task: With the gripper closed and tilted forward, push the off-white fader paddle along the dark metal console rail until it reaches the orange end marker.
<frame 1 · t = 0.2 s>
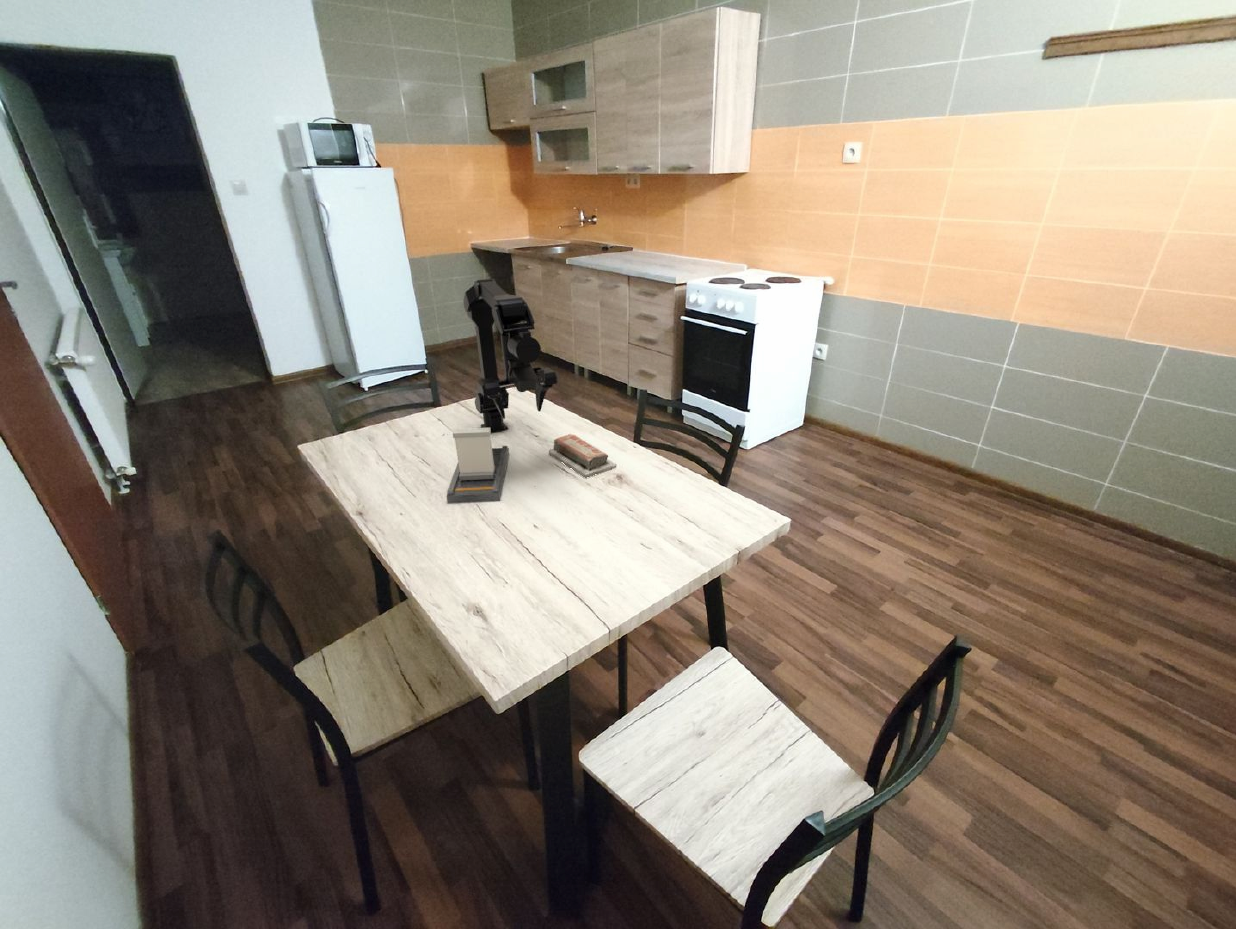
hand: (521, 414, 140), 15 cm above the table, tool pointing down, fingers open, 9 cm apart
packaged product: (581, 462, 150), on the table
fader paddle: (474, 453, 136), point 8 cm above the table, slide at 0.0 cm
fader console: (480, 476, 143), on the table
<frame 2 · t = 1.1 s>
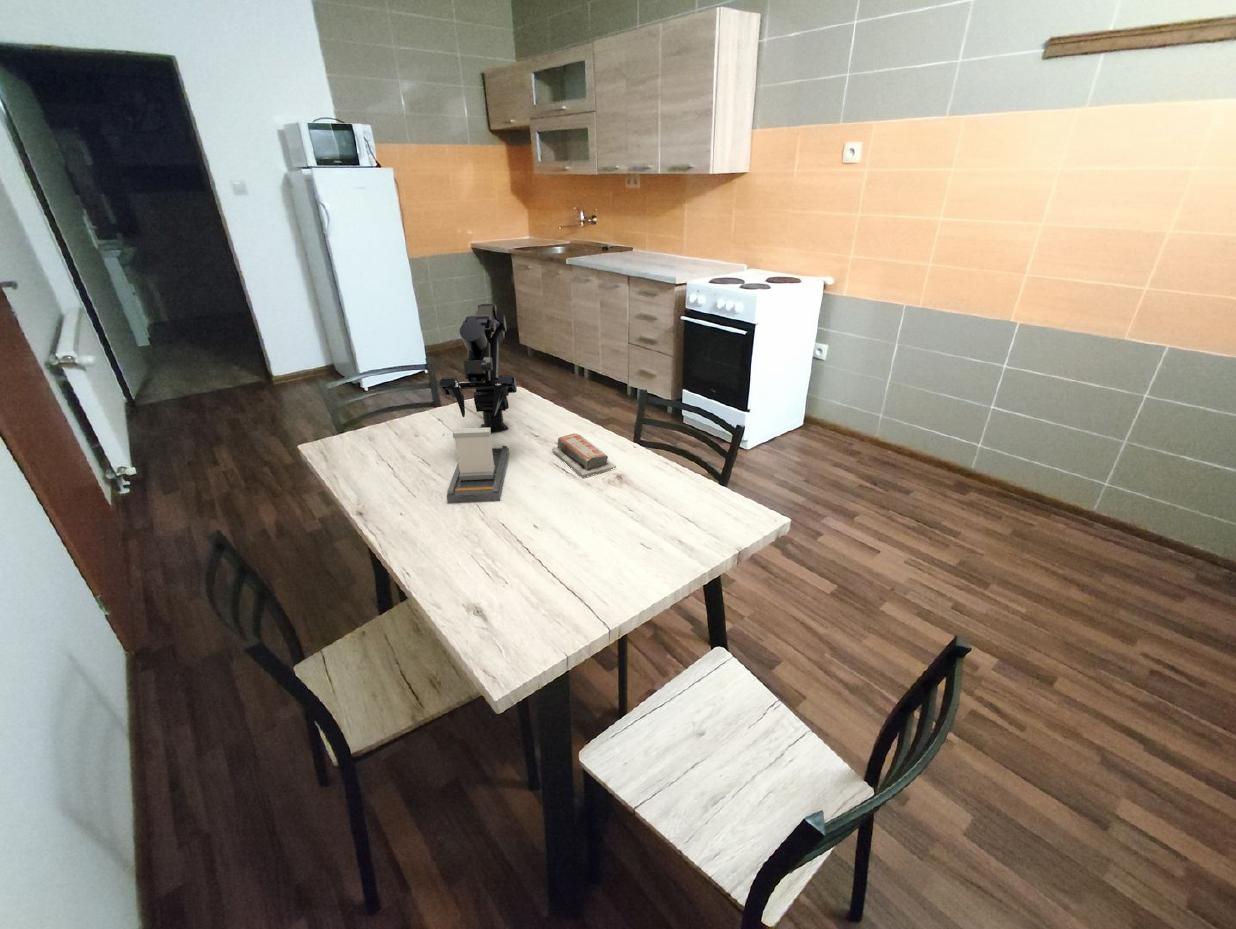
hand: (478, 416, 143), 13 cm above the table, tool tilted 45°, fingers open, 7 cm apart
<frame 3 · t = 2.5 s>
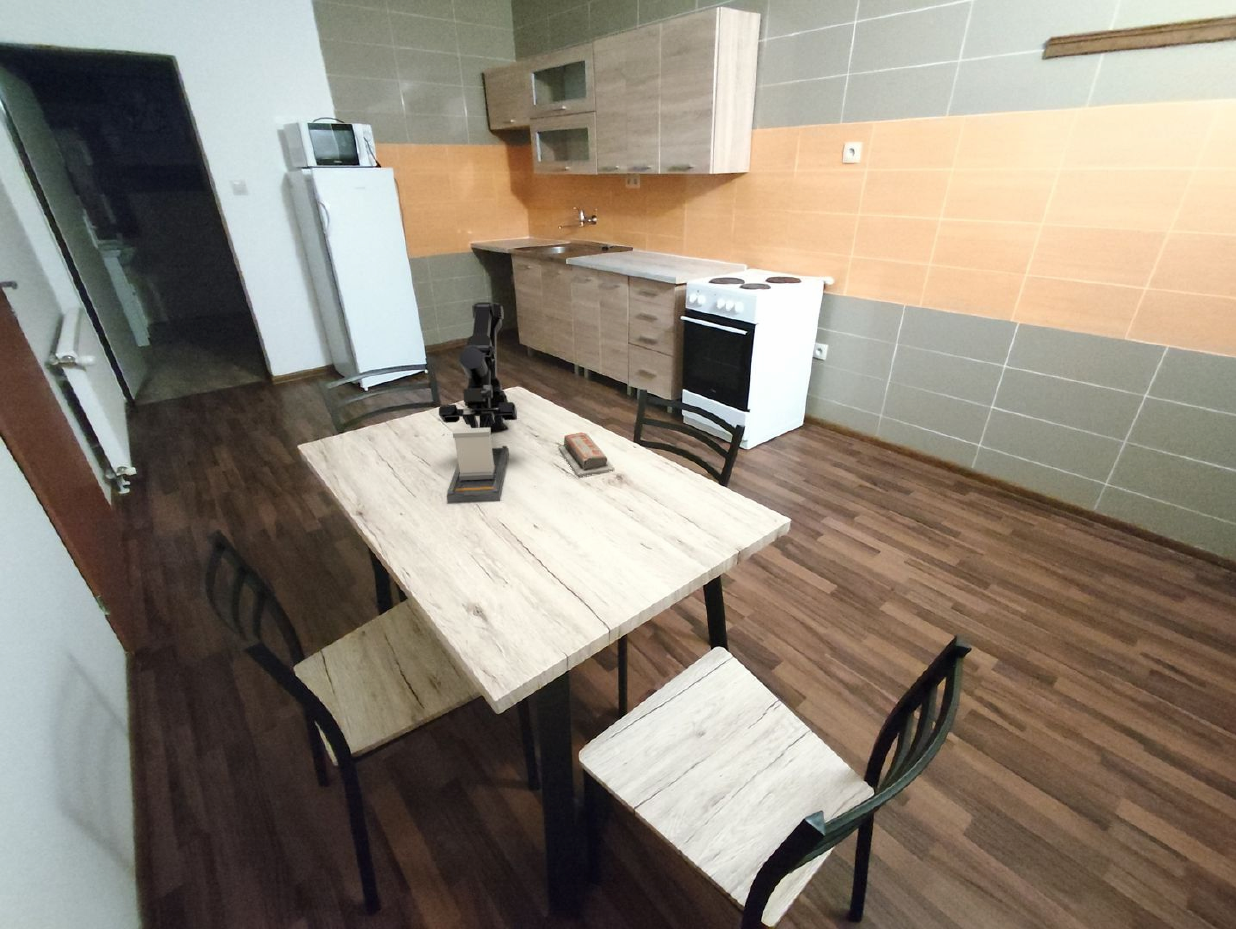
hand: (478, 444, 141), 8 cm above the table, tool tilted 45°, fingers closed
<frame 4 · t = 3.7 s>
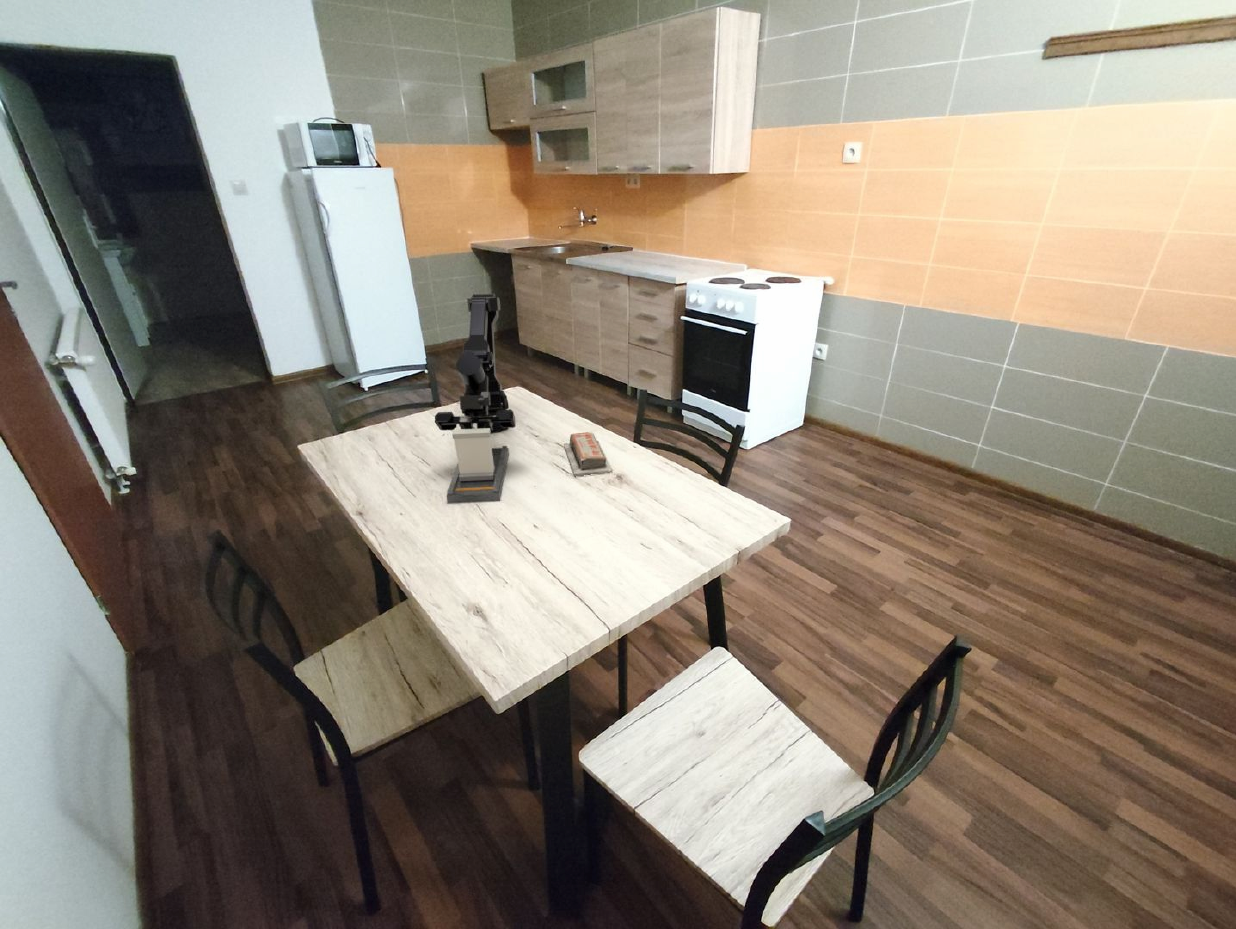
hand: (475, 452, 137), 8 cm above the table, tool tilted 45°, fingers closed, pressing on fader paddle
fader paddle: (474, 453, 136), point 8 cm above the table, slide at 0.4 cm, touching gripper
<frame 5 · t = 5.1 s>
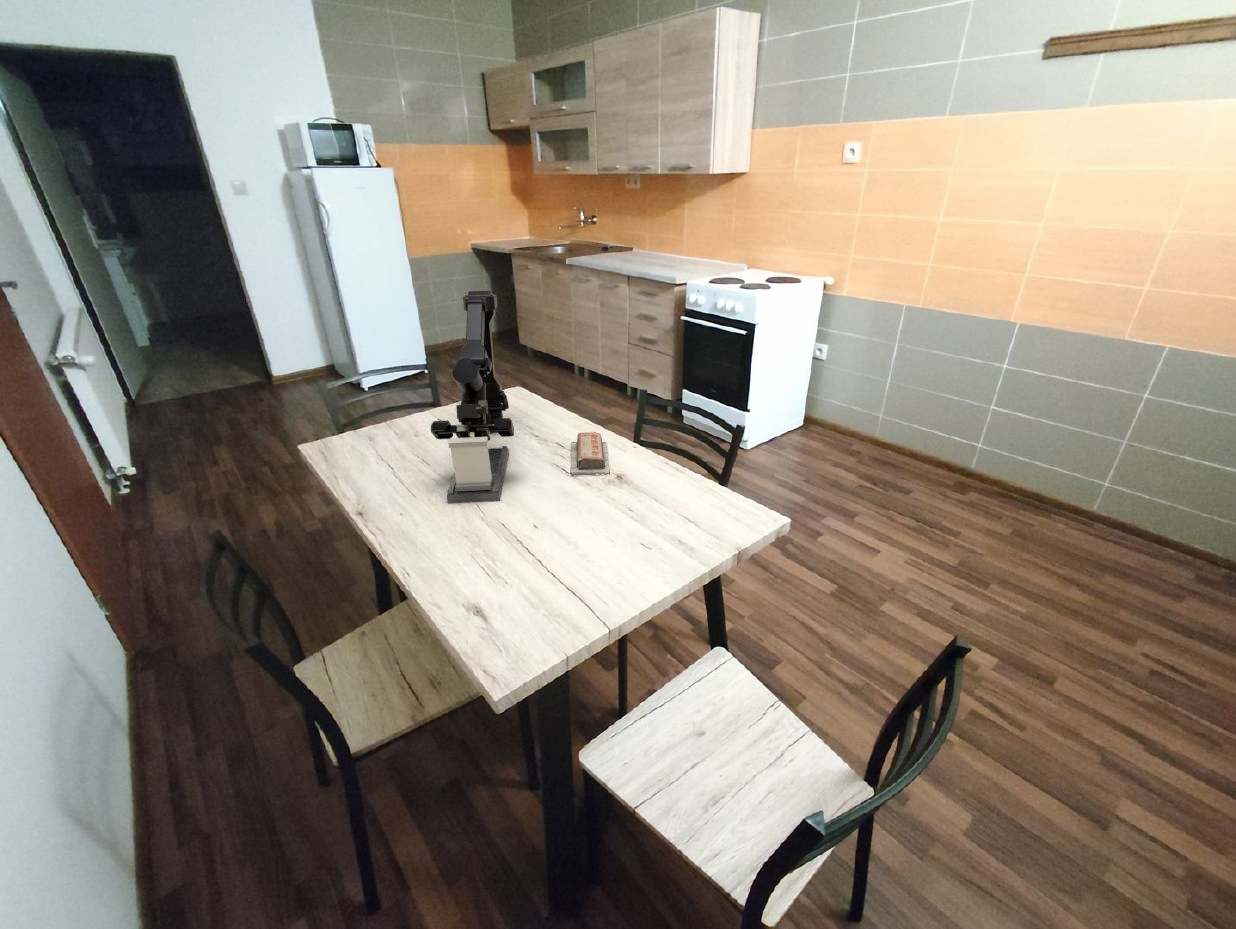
hand: (473, 462, 133), 8 cm above the table, tool tilted 45°, fingers closed, pressing on fader paddle
fader paddle: (471, 463, 131), point 8 cm above the table, slide at 5.2 cm, touching gripper
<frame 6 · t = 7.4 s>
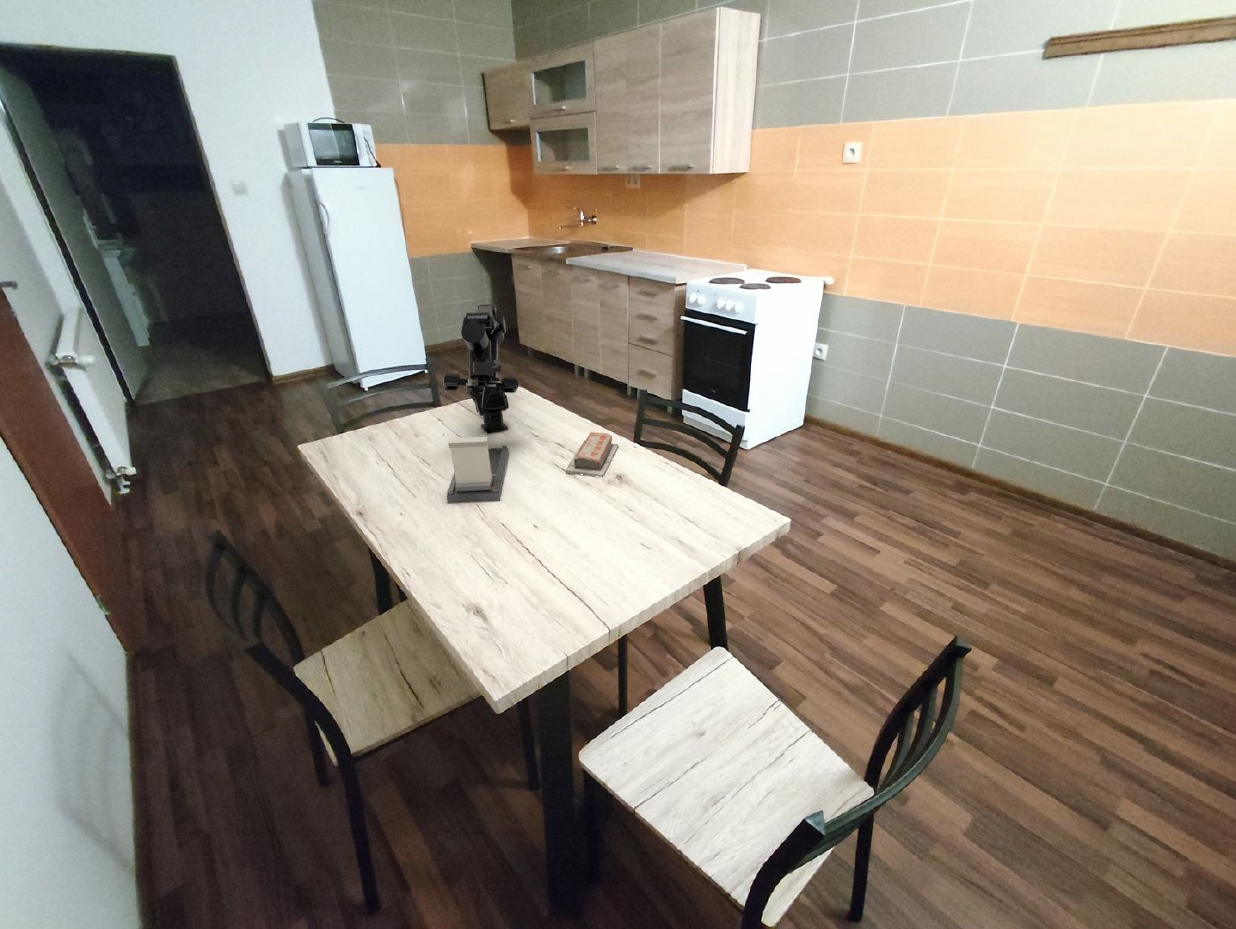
hand: (481, 415, 146), 12 cm above the table, tool tilted 40°, fingers closed
packaged product: (593, 461, 151), on the table
fader paddle: (471, 463, 131), point 8 cm above the table, slide at 5.2 cm
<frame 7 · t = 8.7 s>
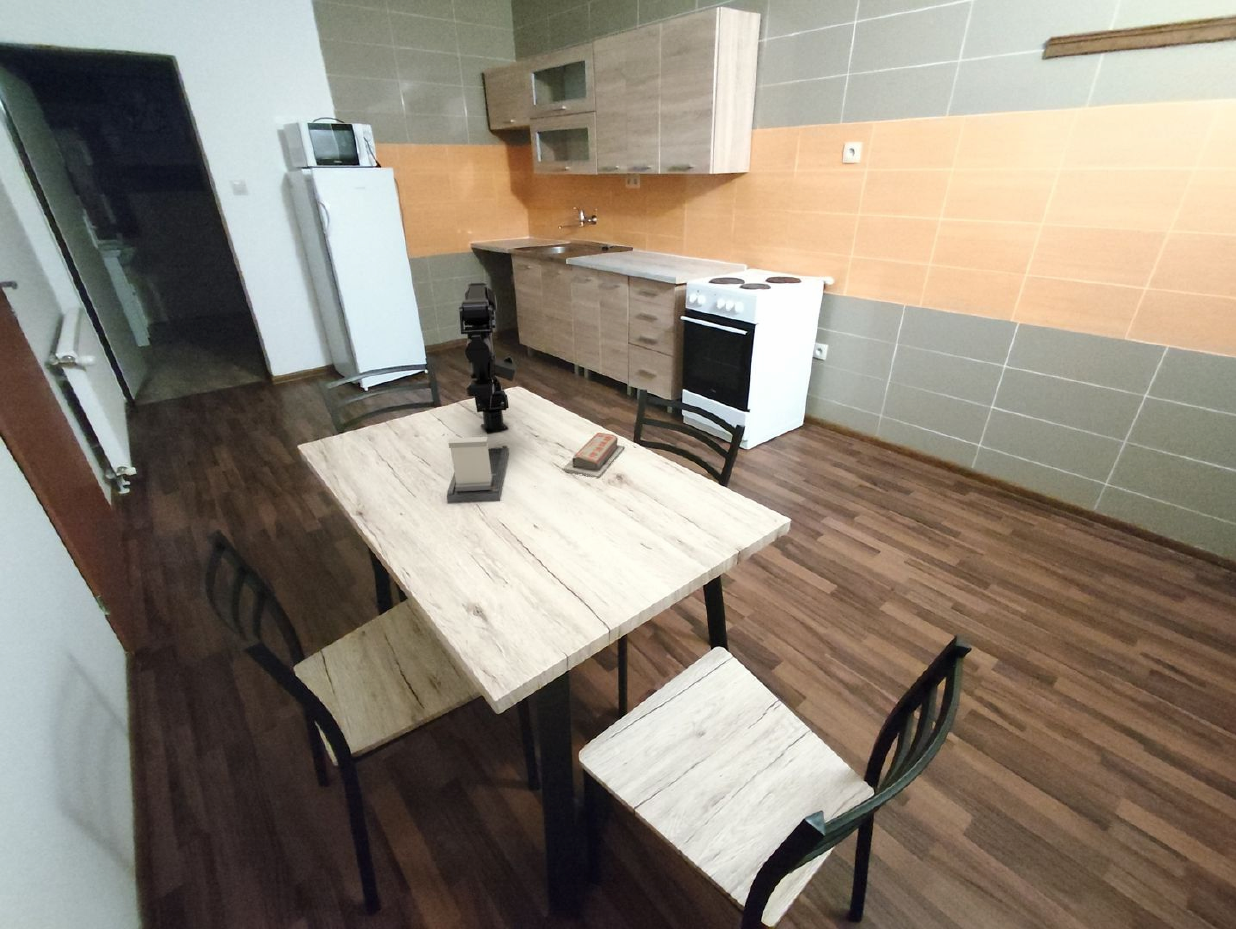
hand: (488, 409, 150), 12 cm above the table, tool pointing down, fingers closed
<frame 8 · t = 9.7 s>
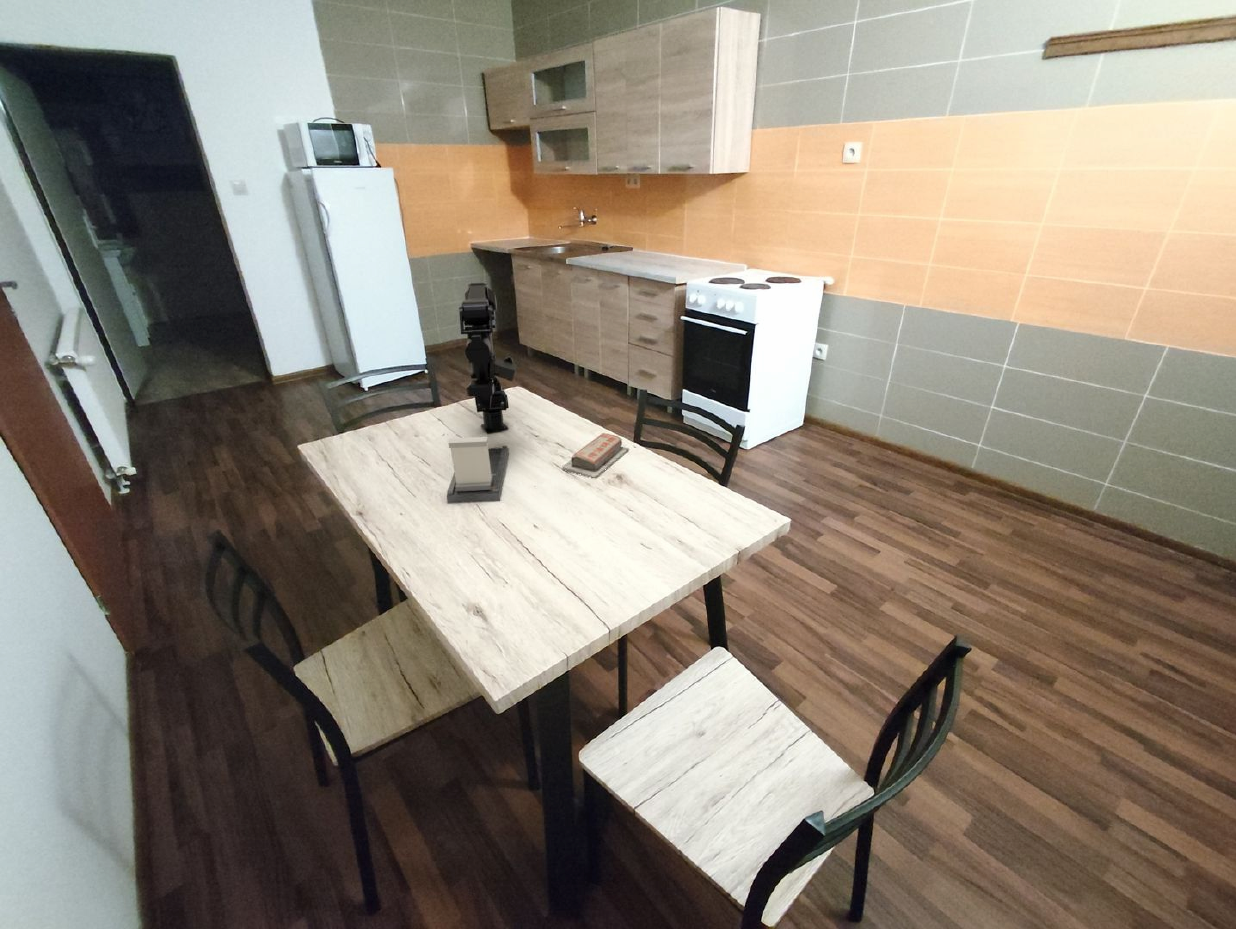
hand: (488, 409, 150), 12 cm above the table, tool pointing down, fingers closed
at the end: fader paddle slide at 5.2 cm; packaged product moved 4.3 cm from its start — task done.
